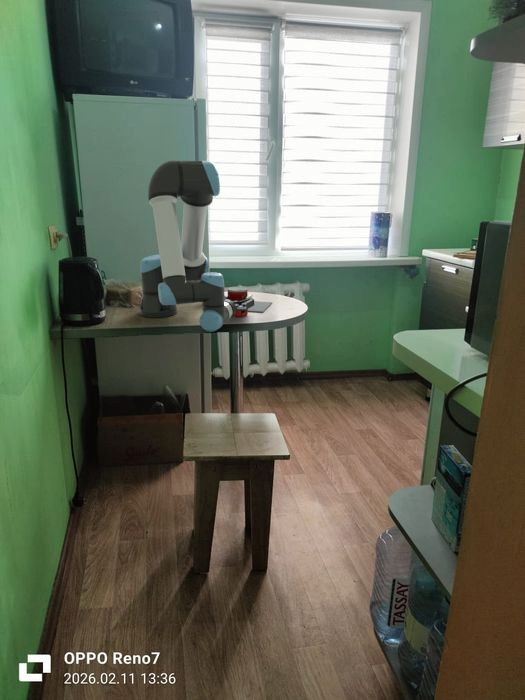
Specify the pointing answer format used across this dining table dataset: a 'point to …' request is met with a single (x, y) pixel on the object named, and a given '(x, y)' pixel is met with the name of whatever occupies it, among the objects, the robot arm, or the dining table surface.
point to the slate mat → (259, 306)
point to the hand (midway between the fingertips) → (241, 296)
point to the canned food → (238, 299)
